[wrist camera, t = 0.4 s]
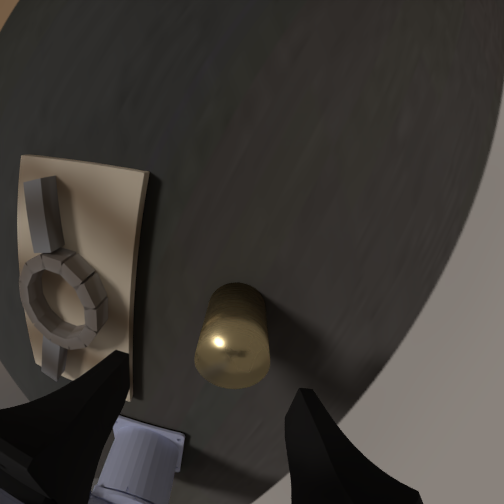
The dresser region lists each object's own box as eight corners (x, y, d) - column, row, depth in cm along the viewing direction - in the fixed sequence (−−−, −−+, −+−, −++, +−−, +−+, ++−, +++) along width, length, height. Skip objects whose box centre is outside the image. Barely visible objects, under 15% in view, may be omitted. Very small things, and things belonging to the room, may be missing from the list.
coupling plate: (133, 394, 23) (123, 416, 21) (40, 358, 23) (26, 374, 20) (149, 171, 17) (131, 175, 15) (29, 154, 17) (4, 157, 14)
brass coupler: (257, 336, 21) (259, 393, 15) (204, 325, 21) (190, 380, 15) (272, 289, 20) (279, 340, 14) (214, 276, 20) (200, 324, 14)
